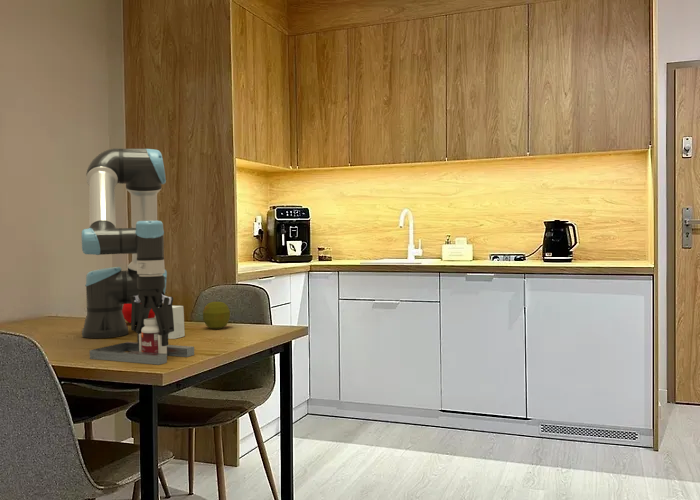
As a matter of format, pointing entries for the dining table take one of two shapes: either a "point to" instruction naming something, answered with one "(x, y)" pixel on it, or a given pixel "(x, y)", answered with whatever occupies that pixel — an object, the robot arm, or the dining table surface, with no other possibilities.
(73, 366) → the dining table surface
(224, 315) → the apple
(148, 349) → the pill bottle
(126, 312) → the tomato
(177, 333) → the small box
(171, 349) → the grey u-shaped frame
